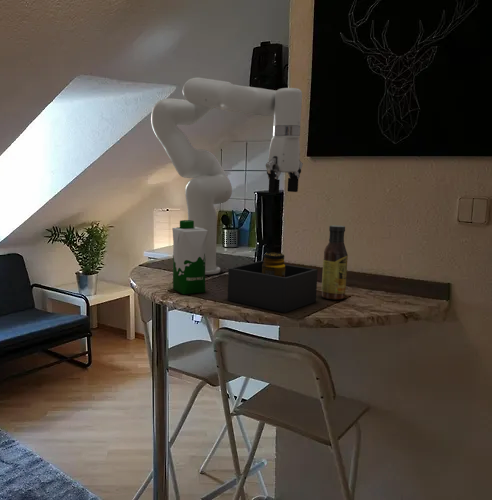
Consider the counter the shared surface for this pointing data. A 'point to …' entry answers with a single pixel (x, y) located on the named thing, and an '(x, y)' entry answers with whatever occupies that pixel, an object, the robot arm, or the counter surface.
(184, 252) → the milk carton
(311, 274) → the dark grey open box
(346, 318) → the counter surface
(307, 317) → the counter surface
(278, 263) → the condiment
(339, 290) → the sauce bottle
